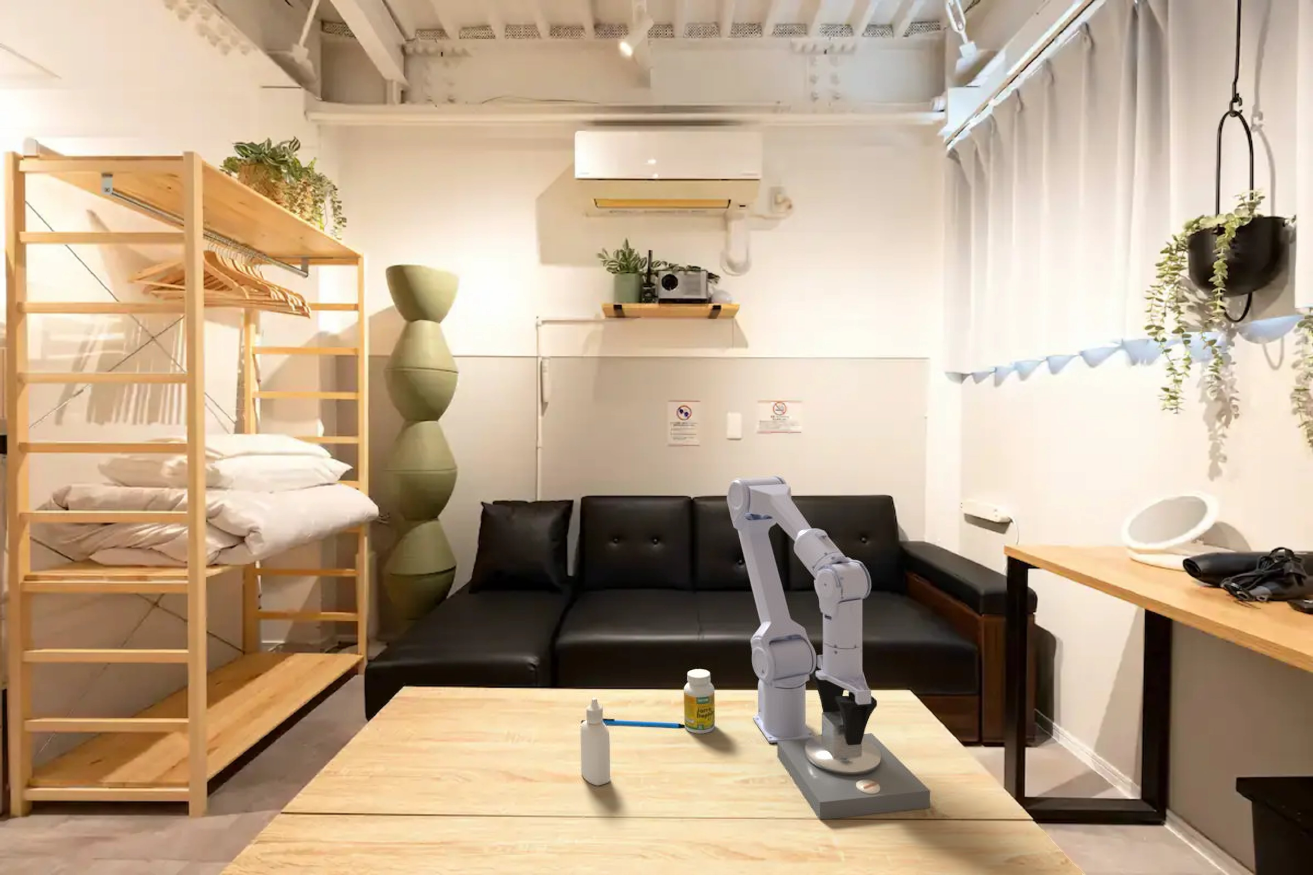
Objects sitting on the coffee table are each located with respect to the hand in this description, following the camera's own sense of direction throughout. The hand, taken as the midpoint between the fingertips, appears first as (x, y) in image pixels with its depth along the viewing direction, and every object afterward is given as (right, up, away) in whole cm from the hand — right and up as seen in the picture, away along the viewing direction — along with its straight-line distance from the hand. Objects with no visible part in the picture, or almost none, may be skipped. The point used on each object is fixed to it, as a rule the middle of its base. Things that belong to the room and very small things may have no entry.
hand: (842, 731), depth 102 cm
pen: (-32, -7, +17) cm, 37 cm away
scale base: (0, -7, -1) cm, 7 cm away
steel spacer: (0, -3, 0) cm, 3 cm away
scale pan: (0, -4, 0) cm, 4 cm away
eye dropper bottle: (-37, -7, 0) cm, 38 cm away
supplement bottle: (-21, -6, +16) cm, 27 cm away
